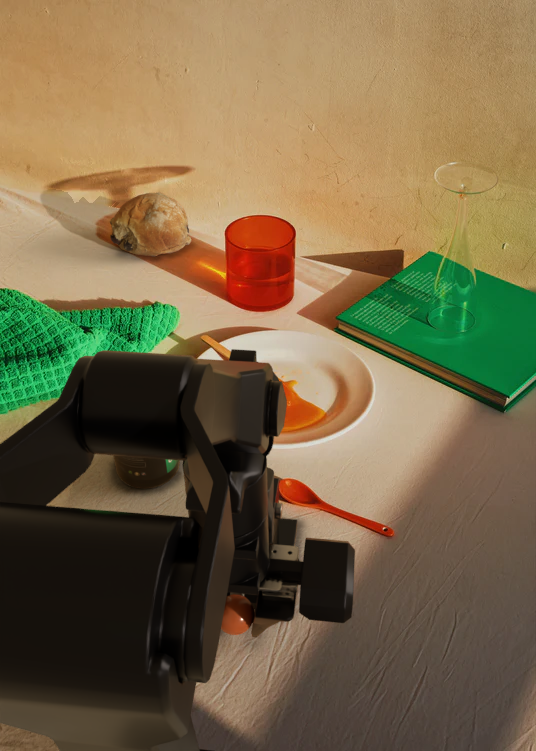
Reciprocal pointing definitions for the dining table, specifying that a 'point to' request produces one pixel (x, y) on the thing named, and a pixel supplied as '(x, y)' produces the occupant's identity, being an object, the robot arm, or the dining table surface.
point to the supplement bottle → (145, 471)
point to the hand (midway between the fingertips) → (236, 630)
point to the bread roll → (150, 225)
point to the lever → (237, 614)
